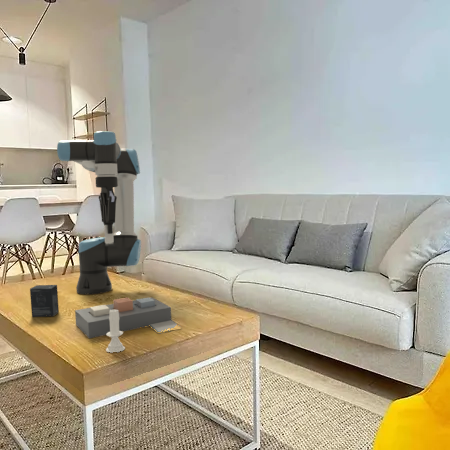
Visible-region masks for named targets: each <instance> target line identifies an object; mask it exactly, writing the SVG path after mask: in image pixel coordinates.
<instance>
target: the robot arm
mask: <svg viewBox="0 0 450 450" xmlns="http://www.w3.org/2000/svg"><path fill="white" fill-rule="evenodd" d="M116 136H117V135H116V133H115V132H114V131H111V130H109V131H108V130H107V131H105V130H104V131H103V130H102V131H101V130H99V131H95V132H94V133H93V140H69V139H66V140H59V141H58V143H57V146H56V153H57V158H58V160H59V161H61V162H74V163H77V164H79V165H81V167H83V169H85V170H86V171H89V172H91V173H95V174H94V175H95V176H96V177H95V187H96V188H100V194H99V195H98V201H99V207H100V214H101V215H100V216H101V222H102V223H103V225H104V226H103V227H104V228H103V229H104V231H103V232H104V236H102V237H101V236H100V237H94V238H89V239H88V238H87V239H84V240H82V241H80V242H79V243H78V251H77V253H78V261H79V264H78V265H79V276H78V280H77V285H76V293H78V294H79V295H98V294H99V295H100V294H103V293H107V292H110V291H111V290H112V289H113V284H112V281H111V279H110V277H109V274H108V268H109V267H110V268H111V267H132V266H133V267H134V266H136V265H138V263H139V261H140V257H141V250H142V249H141V248H142V246H141V245H142V241H141V239H138V234H136V233H135V210H134V209H135V208H134V207H135V206H134V204H135V201H134V194H135V193H134V182H135V180H136V179H137V177H138V175H139V174H140V173H141V170H140V161H139V157H138V153H137V150H136V149H135V148H127V147H125V148H121V146H120V145H119V143H118V142H117V137H116ZM112 291H113V290H112Z"/></svg>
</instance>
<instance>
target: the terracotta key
mask: <svg viewBox="0 0 450 450" xmlns="http://www.w3.org/2000/svg"><path fill="white" fill-rule="evenodd" d="M112 301H113V303H112V304H114V309H116V310H118V311H119V312H123V311H128V310H133V300H132V299H130V298H129V297H122V298H116V299H113V300H112Z"/></svg>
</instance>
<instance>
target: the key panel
mask: <svg viewBox="0 0 450 450" xmlns="http://www.w3.org/2000/svg"><path fill="white" fill-rule="evenodd" d="M150 298H151V299H153V300H155V306H151V307H145V308H139V307H138V306H136V299H135V300H133V310H128V311H123V312H119V331H122V332H123V333H124V332H128V331H132V330H136V329H141V328H140V327H142V328H146V327H145V326H147V327H150V326H149V325H150V324H155V323H160V322H165V321H170V320H172V307H171V306H170V305H168V304H166V303H164V302H162V301H160V300H158V299H156V298H154V297H150ZM105 305H106V306H107V307H108V308H110V310H113V309H114V304H113V303H110V304H105ZM74 313H75V315H74V316H75V326H76V327H78V328H79V330H81V332H82V333H83V334H84V335H85V336H86V337H87V338H88V339H93V338H98V337H102V336H107V335H106V334H107V333H108V332H110V320H109V314H106V315H101V316H95V317H93V316H92V315H91V314H90V307H87V308H80V309H75V310H74Z"/></svg>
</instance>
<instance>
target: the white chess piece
mask: <svg viewBox="0 0 450 450" xmlns="http://www.w3.org/2000/svg"><path fill="white" fill-rule="evenodd" d="M109 320H110V332H108V333H107V334H106V335H105V336H107V337H110V342H109V343H108V345H107V347H106V349H105V351H106V352H107V353H109V352H110V353H109V354H112V353H113V352H117V353H121V352H123V351H124V350H125V349H126V346H124V345H123V343H122V342H121V341H120V338H119V337H120V336H122V335H123V334H124V331H123V332H122V331H119V311H118V310H116V309H113V310H110V311H109ZM120 351H121V352H120Z"/></svg>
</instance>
